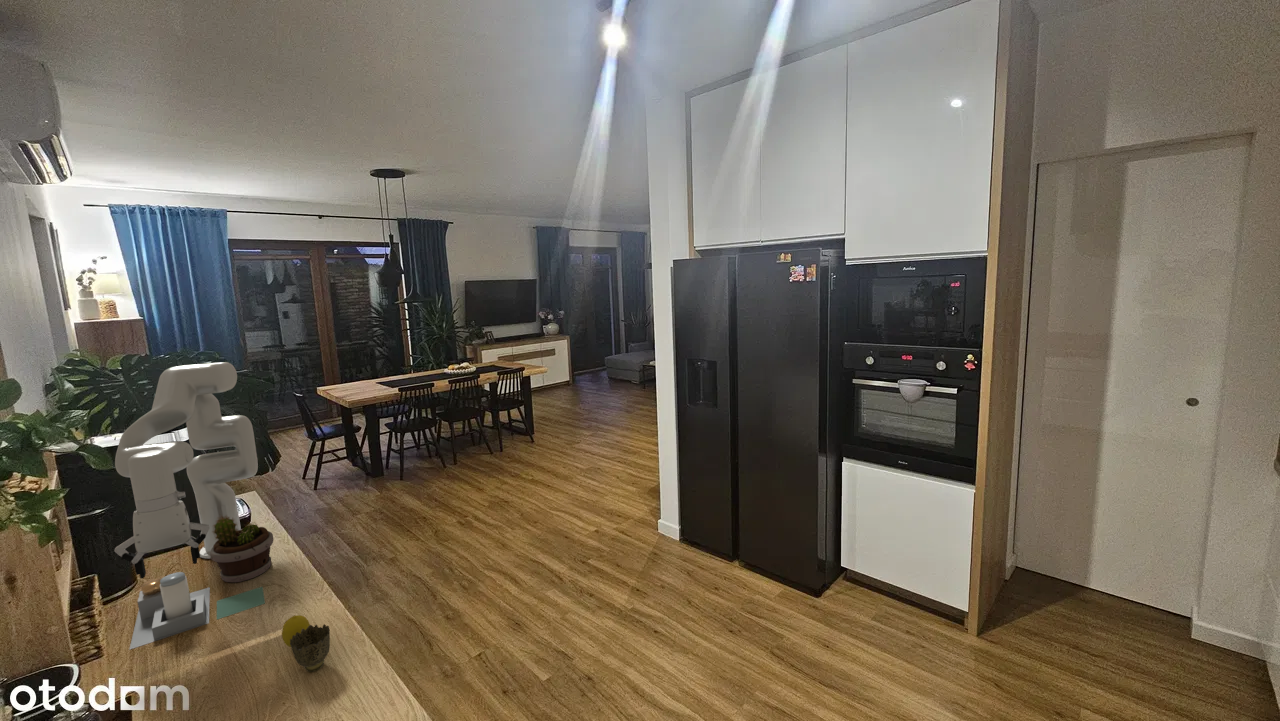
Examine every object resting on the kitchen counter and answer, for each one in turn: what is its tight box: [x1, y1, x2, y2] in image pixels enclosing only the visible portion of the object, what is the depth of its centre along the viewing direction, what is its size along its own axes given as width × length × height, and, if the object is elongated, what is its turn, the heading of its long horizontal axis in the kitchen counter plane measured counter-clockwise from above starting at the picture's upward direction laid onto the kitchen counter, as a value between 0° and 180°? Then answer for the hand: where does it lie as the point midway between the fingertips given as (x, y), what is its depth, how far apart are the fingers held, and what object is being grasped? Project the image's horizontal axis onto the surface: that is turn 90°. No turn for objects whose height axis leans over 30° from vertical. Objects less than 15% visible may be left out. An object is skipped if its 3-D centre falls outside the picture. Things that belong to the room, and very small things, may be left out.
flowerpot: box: [210, 515, 274, 583], centre depth 154 cm, size 14×15×20 cm
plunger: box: [140, 577, 163, 595], centre depth 138 cm, size 4×4×6 cm
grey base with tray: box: [128, 586, 211, 650], centre depth 136 cm, size 20×14×6 cm
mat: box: [216, 586, 266, 620], centre depth 141 cm, size 10×10×1 cm
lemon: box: [281, 614, 311, 648], centre depth 124 cm, size 6×6×8 cm
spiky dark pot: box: [290, 624, 331, 673], centre depth 117 cm, size 8×7×8 cm
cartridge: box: [160, 571, 193, 620], centre depth 133 cm, size 5×5×12 cm
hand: (169, 568), depth 131 cm, fingers open, 9 cm apart
